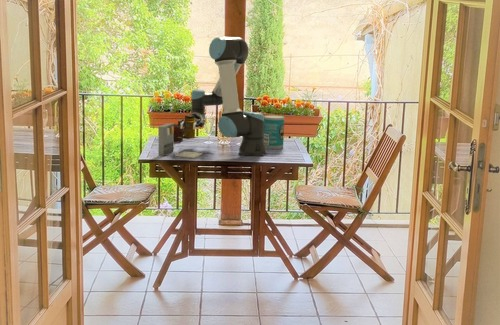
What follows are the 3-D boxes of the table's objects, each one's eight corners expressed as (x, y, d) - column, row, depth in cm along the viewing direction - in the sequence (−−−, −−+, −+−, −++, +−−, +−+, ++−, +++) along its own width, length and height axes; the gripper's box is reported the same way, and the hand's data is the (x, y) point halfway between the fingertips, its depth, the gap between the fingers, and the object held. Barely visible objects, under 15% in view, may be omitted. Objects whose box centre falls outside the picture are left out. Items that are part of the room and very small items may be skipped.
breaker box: (175, 152, 398) (175, 123, 395) (165, 156, 387) (165, 126, 384) (168, 151, 399) (168, 123, 396) (158, 155, 388) (158, 126, 385)
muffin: (162, 139, 435) (162, 123, 433) (178, 138, 442) (178, 122, 440) (172, 142, 426) (172, 126, 424) (188, 141, 432) (188, 124, 430)
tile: (202, 154, 395) (202, 153, 395) (194, 157, 385) (194, 156, 385) (184, 152, 399) (184, 151, 399) (175, 155, 389) (175, 154, 389)
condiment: (198, 137, 391) (198, 115, 389) (187, 139, 385) (188, 117, 382) (188, 135, 396) (188, 114, 393) (177, 137, 389) (178, 115, 386)
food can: (286, 148, 419) (287, 117, 415) (267, 149, 415) (268, 118, 411) (278, 144, 430) (279, 114, 426) (259, 145, 426) (260, 115, 422)
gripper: (211, 127, 406) (205, 134, 384) (178, 125, 408) (169, 132, 385) (211, 114, 405) (205, 120, 382) (178, 112, 406) (170, 118, 384)
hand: (187, 126), depth 384 cm, fingers closed on condiment, 6 cm apart
